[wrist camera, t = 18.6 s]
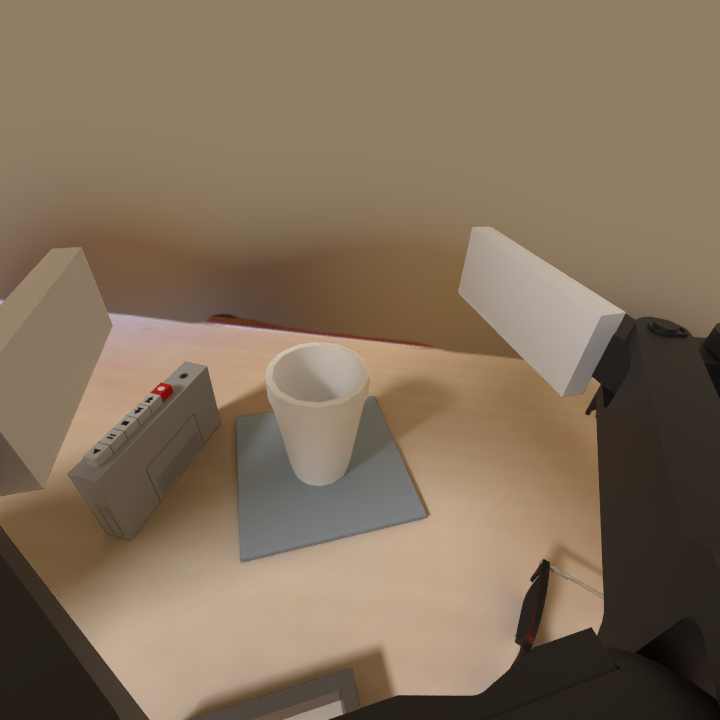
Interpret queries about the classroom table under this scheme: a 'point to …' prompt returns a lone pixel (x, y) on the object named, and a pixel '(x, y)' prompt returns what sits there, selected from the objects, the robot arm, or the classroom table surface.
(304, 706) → the holder collar
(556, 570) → the sunglasses
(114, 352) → the classroom table surface
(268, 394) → the foam cup
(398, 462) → the rubber mat
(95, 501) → the cassette player
